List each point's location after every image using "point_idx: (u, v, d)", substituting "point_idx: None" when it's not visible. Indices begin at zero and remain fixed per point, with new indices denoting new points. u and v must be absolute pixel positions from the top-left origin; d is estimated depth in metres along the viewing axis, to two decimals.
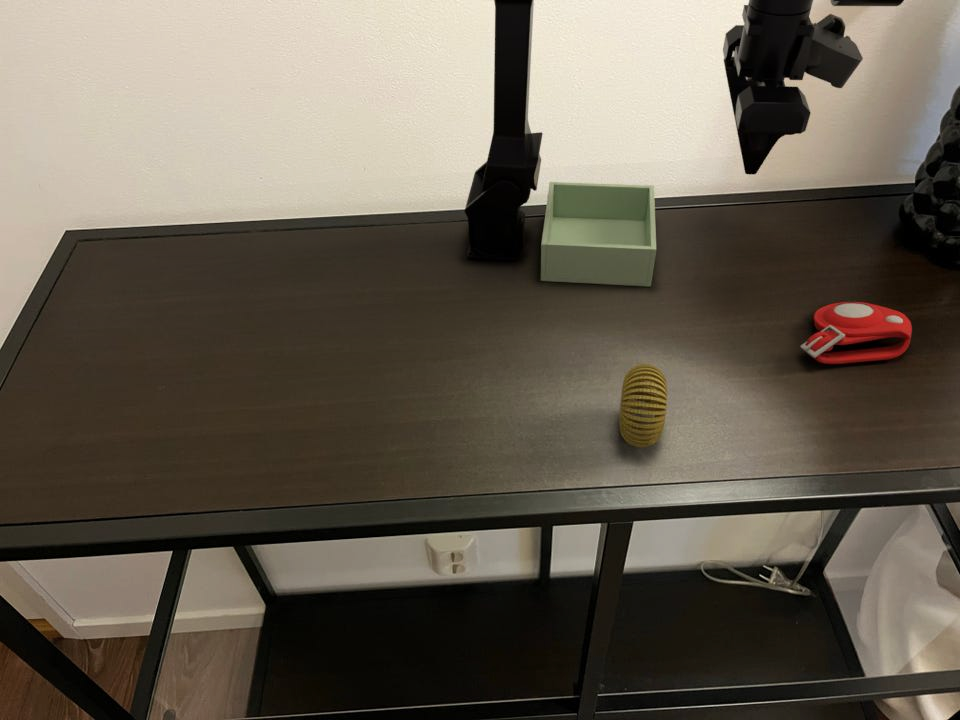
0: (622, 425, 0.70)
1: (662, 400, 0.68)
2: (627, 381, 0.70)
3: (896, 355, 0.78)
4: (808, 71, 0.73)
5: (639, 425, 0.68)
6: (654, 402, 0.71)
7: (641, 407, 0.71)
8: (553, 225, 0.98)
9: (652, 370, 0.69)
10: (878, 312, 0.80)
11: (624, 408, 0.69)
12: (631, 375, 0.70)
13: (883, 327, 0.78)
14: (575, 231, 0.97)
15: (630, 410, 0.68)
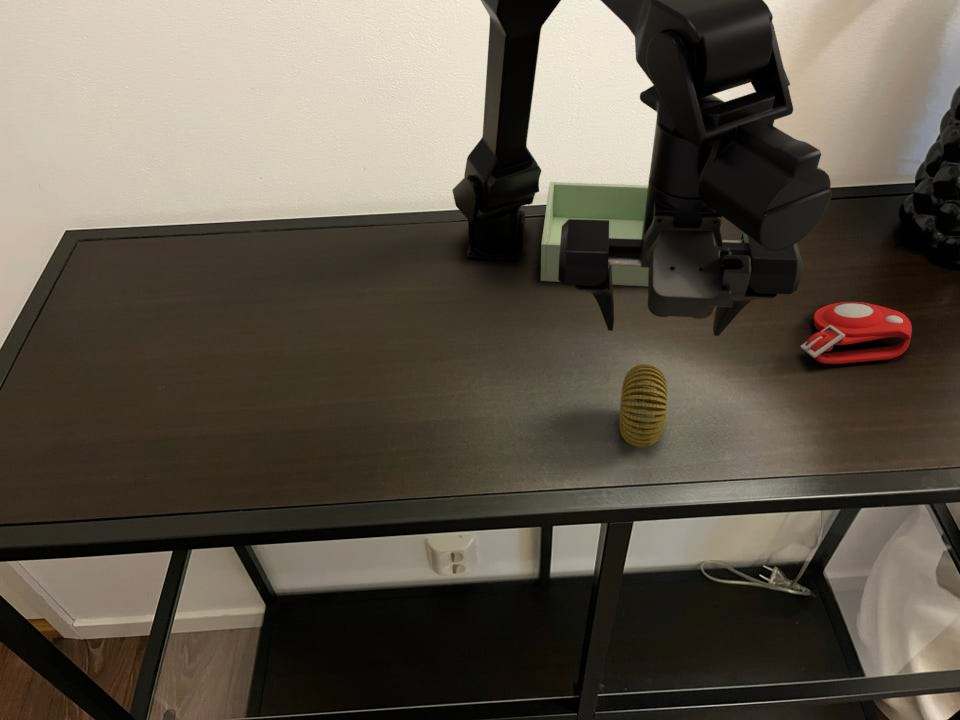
0: (622, 425, 0.70)
1: (662, 400, 0.68)
2: (627, 381, 0.70)
3: (896, 355, 0.78)
4: None
5: (639, 425, 0.68)
6: (654, 402, 0.71)
7: (641, 407, 0.71)
8: (553, 225, 0.98)
9: (652, 370, 0.69)
10: (878, 312, 0.80)
11: (624, 408, 0.69)
12: (631, 375, 0.70)
13: (883, 327, 0.78)
14: None
15: (630, 410, 0.68)
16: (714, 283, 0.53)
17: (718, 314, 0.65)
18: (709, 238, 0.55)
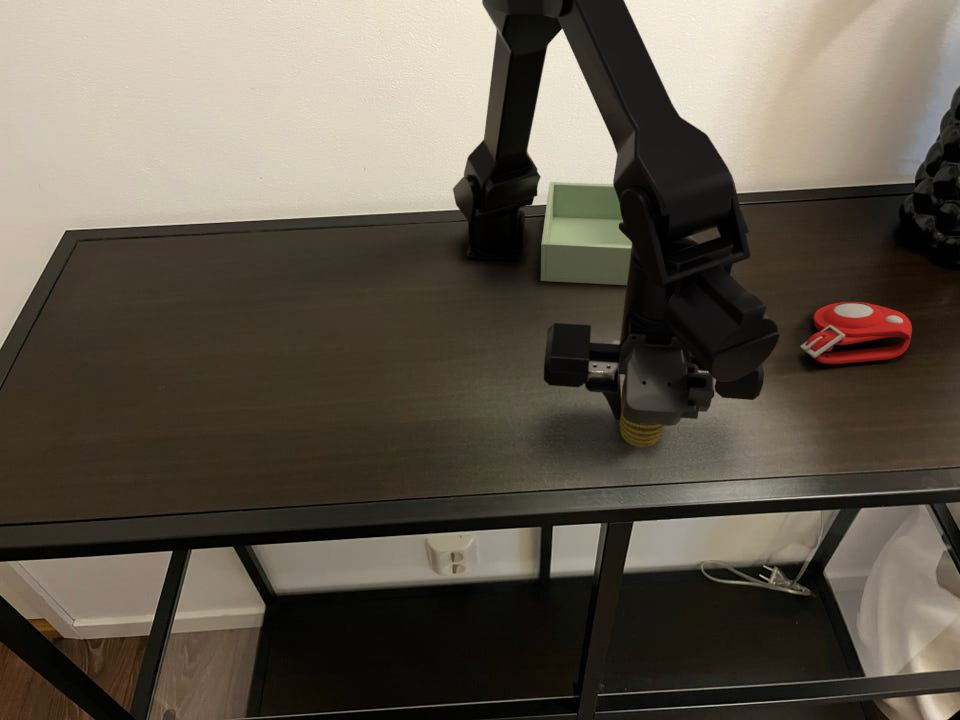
0: (622, 425, 0.70)
1: None
2: None
3: (896, 355, 0.78)
4: None
5: (639, 425, 0.68)
6: None
7: None
8: (553, 225, 0.98)
9: None
10: (878, 312, 0.80)
11: None
12: None
13: (883, 327, 0.78)
14: (575, 231, 0.97)
15: None
16: (681, 398, 0.59)
17: None
18: (678, 355, 0.61)
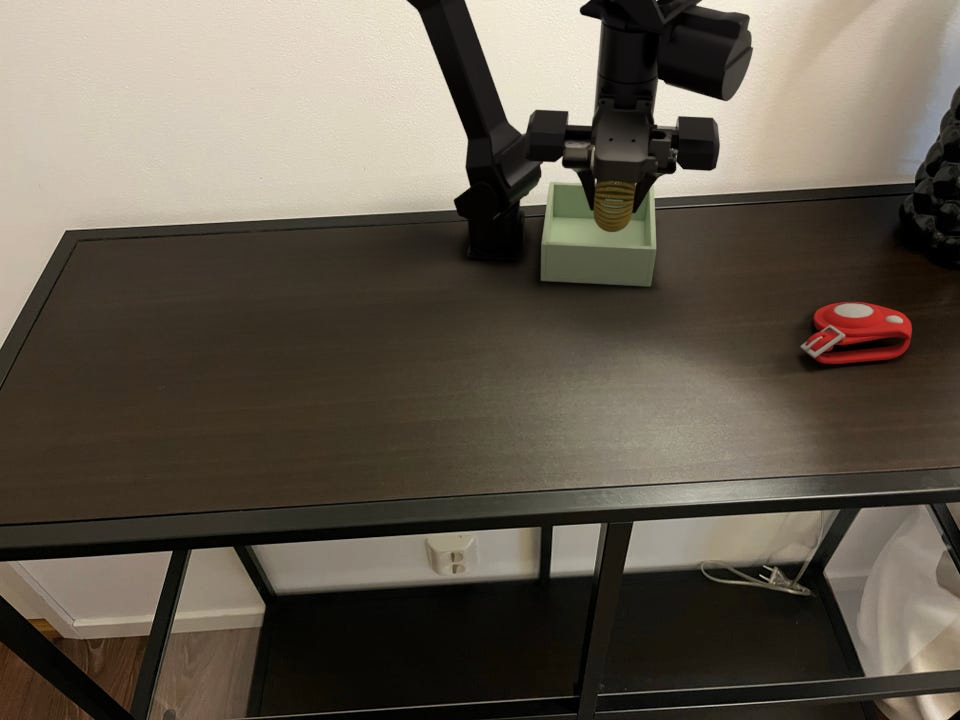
0: (595, 207, 0.77)
1: None
2: None
3: (896, 355, 0.78)
4: None
5: (609, 202, 0.76)
6: None
7: (613, 195, 0.79)
8: (553, 225, 0.98)
9: None
10: (878, 312, 0.80)
11: (597, 189, 0.77)
12: None
13: (883, 327, 0.78)
14: (575, 231, 0.97)
15: (602, 189, 0.76)
16: (643, 151, 0.67)
17: (634, 194, 0.79)
18: (642, 117, 0.68)
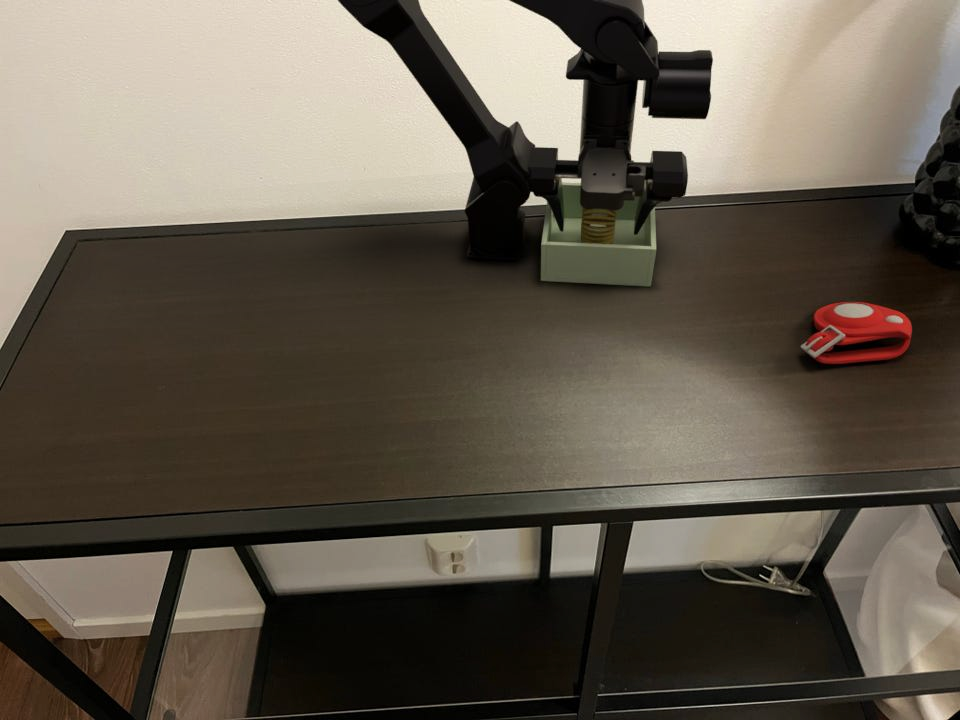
0: (582, 232, 0.90)
1: None
2: None
3: (896, 355, 0.78)
4: None
5: (594, 228, 0.88)
6: (607, 216, 0.91)
7: (597, 221, 0.91)
8: (553, 225, 0.98)
9: None
10: (878, 312, 0.80)
11: (583, 217, 0.89)
12: None
13: (883, 327, 0.78)
14: (575, 231, 0.97)
15: (587, 217, 0.88)
16: (622, 183, 0.79)
17: (636, 218, 0.90)
18: (620, 154, 0.80)
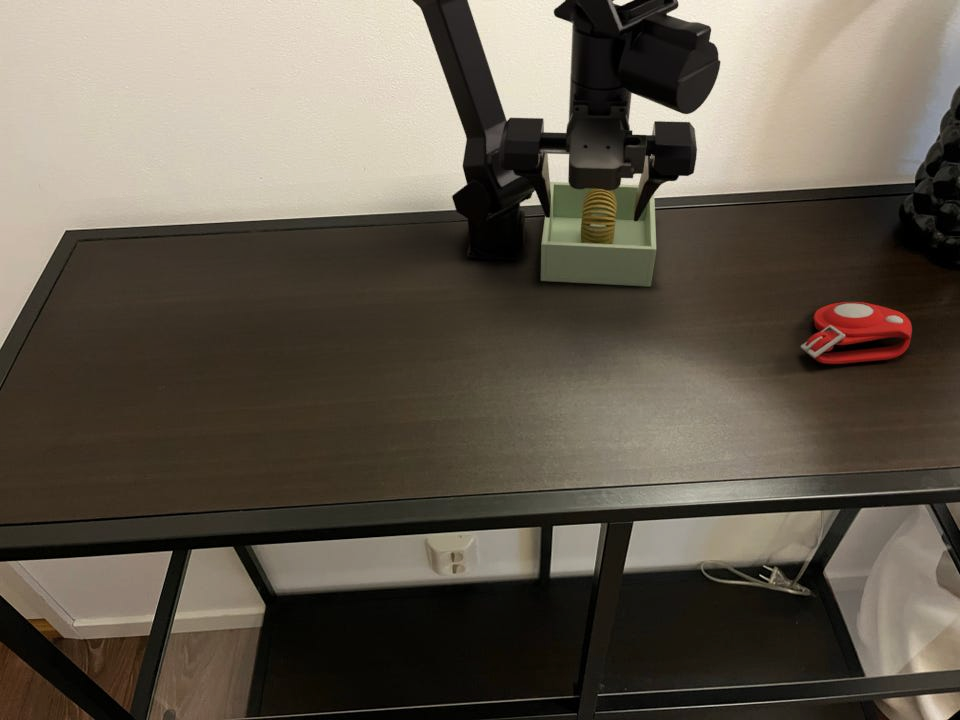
0: (582, 232, 0.90)
1: (612, 209, 0.88)
2: (586, 198, 0.90)
3: (896, 355, 0.78)
4: None
5: (594, 228, 0.88)
6: (607, 216, 0.91)
7: (597, 221, 0.91)
8: (553, 225, 0.98)
9: None
10: (878, 312, 0.80)
11: (583, 217, 0.89)
12: (589, 193, 0.90)
13: (883, 327, 0.78)
14: (575, 231, 0.97)
15: (587, 217, 0.88)
16: (618, 157, 0.66)
17: (636, 201, 0.77)
18: (617, 123, 0.67)
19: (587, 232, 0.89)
